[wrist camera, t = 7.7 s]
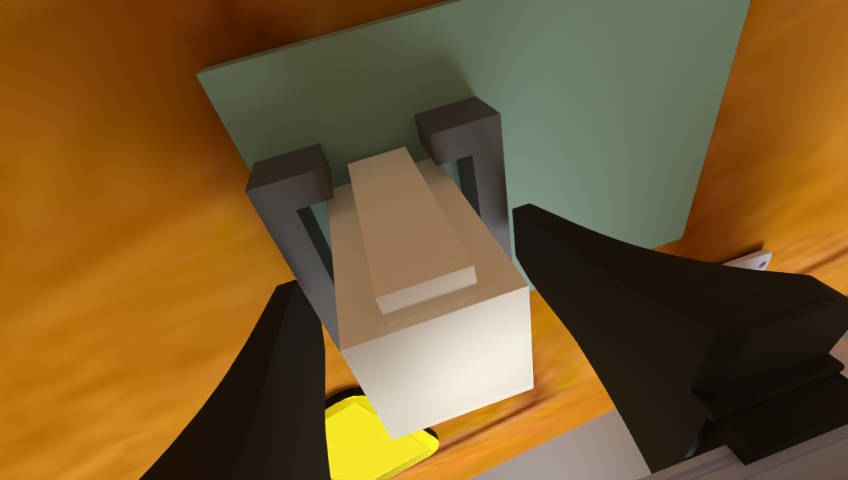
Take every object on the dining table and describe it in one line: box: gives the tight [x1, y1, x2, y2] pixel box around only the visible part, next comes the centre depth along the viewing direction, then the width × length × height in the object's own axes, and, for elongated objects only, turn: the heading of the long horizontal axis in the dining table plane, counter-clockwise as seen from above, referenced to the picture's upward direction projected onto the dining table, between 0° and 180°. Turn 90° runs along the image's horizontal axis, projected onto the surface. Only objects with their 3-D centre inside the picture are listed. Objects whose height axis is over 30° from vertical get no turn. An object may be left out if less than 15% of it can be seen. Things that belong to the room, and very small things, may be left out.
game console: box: [325, 387, 439, 480], centre depth 25 cm, size 18×11×2 cm, turn 122°
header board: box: [196, 0, 751, 352], centre depth 14 cm, size 13×18×3 cm
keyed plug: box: [328, 147, 533, 440], centre depth 11 cm, size 5×4×7 cm
